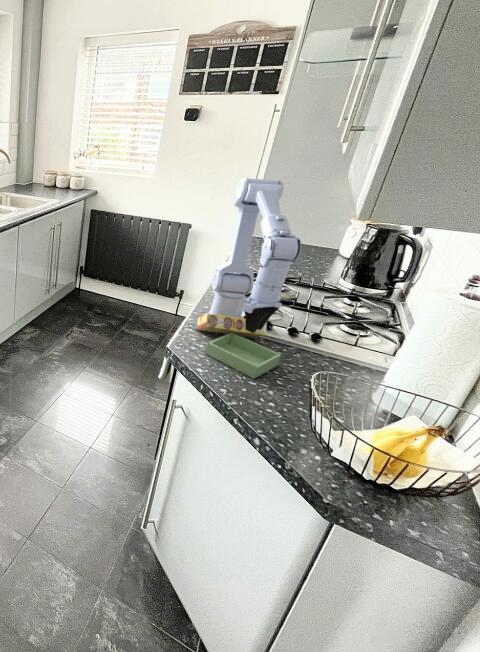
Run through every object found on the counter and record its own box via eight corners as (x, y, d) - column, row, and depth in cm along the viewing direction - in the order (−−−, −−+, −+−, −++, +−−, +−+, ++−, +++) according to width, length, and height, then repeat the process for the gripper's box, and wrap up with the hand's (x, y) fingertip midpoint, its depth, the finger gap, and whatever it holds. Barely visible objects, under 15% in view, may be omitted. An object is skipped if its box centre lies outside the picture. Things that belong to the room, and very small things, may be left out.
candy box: (267, 320, 117) (207, 312, 121) (266, 335, 116) (205, 326, 120) (254, 324, 125) (198, 316, 129) (253, 339, 125) (196, 330, 129)
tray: (228, 342, 122) (231, 332, 121) (277, 365, 112) (281, 354, 110) (204, 353, 117) (208, 342, 116) (253, 378, 107) (258, 367, 105)
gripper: (270, 295, 99) (253, 344, 105) (301, 282, 106) (283, 329, 112) (240, 284, 105) (226, 331, 110) (271, 273, 111) (256, 317, 117)
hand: (253, 329), depth 111 cm, fingers closed
